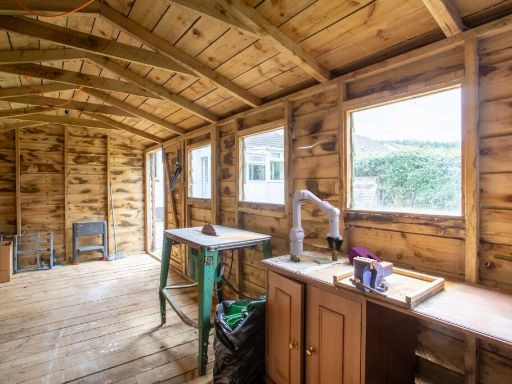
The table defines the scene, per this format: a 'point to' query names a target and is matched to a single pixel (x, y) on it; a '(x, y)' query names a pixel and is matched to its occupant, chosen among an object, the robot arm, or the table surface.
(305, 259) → the plate
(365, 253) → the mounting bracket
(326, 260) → the tray
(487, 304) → the table surface
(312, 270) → the table surface
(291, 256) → the dog
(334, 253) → the dowel
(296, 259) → the dog
